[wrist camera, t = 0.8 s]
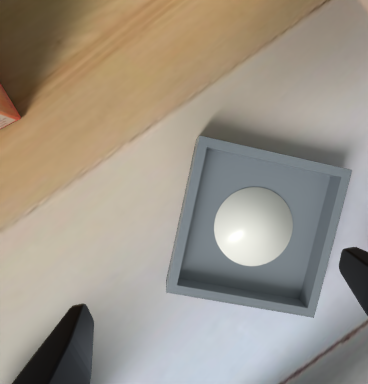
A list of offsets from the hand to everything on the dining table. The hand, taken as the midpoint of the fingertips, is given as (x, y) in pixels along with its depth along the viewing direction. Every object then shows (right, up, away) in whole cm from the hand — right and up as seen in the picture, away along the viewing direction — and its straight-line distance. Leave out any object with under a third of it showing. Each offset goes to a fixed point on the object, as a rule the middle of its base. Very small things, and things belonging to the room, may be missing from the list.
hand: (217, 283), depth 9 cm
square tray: (+5, 0, +16) cm, 17 cm away
